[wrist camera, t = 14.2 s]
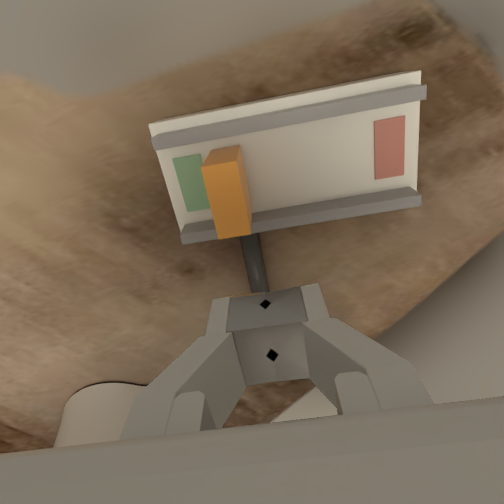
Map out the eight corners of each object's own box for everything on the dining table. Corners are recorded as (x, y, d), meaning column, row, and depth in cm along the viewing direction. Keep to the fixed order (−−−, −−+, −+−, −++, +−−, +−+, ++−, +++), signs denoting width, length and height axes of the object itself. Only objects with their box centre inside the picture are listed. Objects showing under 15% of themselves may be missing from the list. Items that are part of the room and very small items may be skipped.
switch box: (402, 71, 24) (436, 69, 20) (398, 309, 33) (421, 344, 29) (159, 119, 26) (139, 128, 21) (220, 333, 35) (215, 370, 31)
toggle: (240, 144, 23) (236, 160, 18) (251, 205, 25) (250, 234, 20) (211, 149, 23) (200, 167, 18) (225, 210, 25) (218, 239, 20)
